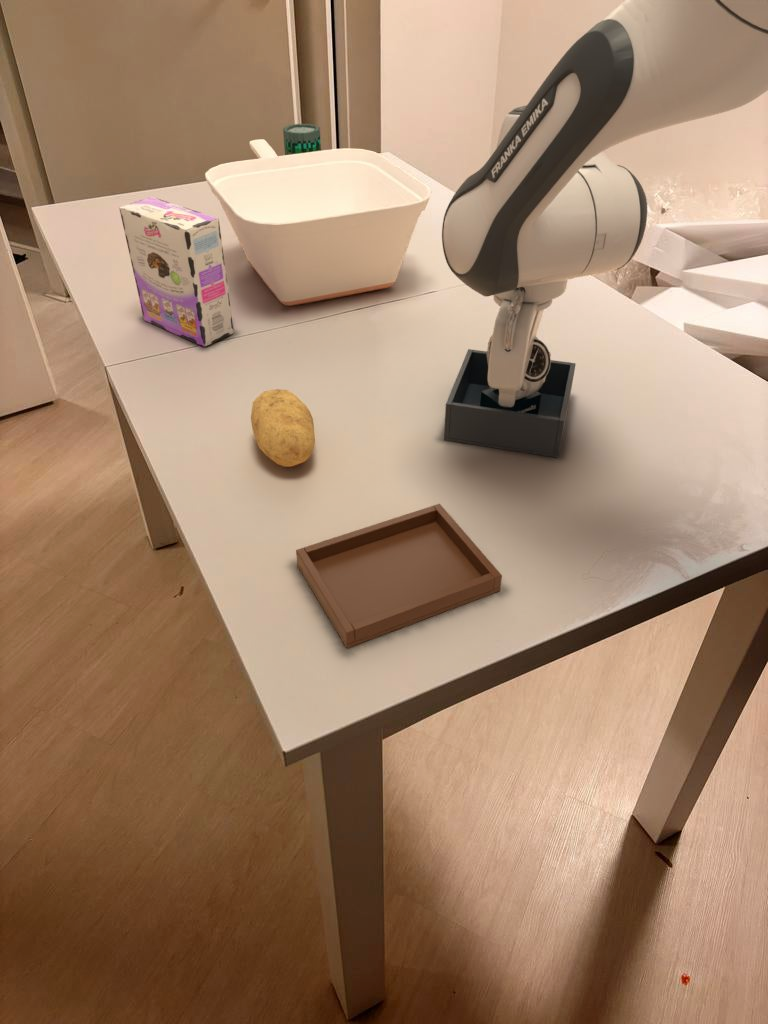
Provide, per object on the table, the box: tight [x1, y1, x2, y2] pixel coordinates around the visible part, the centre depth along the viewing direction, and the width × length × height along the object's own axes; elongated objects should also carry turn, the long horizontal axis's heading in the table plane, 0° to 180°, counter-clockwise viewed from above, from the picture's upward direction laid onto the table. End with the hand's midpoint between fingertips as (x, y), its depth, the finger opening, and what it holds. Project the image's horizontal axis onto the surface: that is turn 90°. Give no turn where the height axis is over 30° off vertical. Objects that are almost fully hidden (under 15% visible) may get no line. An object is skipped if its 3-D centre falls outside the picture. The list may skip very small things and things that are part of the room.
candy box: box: [118, 196, 235, 348], centre depth 109 cm, size 14×6×16 cm, turn 51°
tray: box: [295, 503, 503, 649], centre depth 75 cm, size 16×12×2 cm
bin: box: [443, 348, 577, 459], centre depth 95 cm, size 13×13×5 cm
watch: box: [480, 333, 552, 415], centre depth 93 cm, size 6×8×11 cm
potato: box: [250, 388, 316, 468], centre depth 89 cm, size 7×11×6 cm, turn 18°
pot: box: [204, 138, 433, 307], centre depth 128 cm, size 29×44×15 cm, turn 24°
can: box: [282, 123, 322, 155], centre depth 144 cm, size 6×6×15 cm
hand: (512, 384), depth 94 cm, fingers open, 7 cm apart
